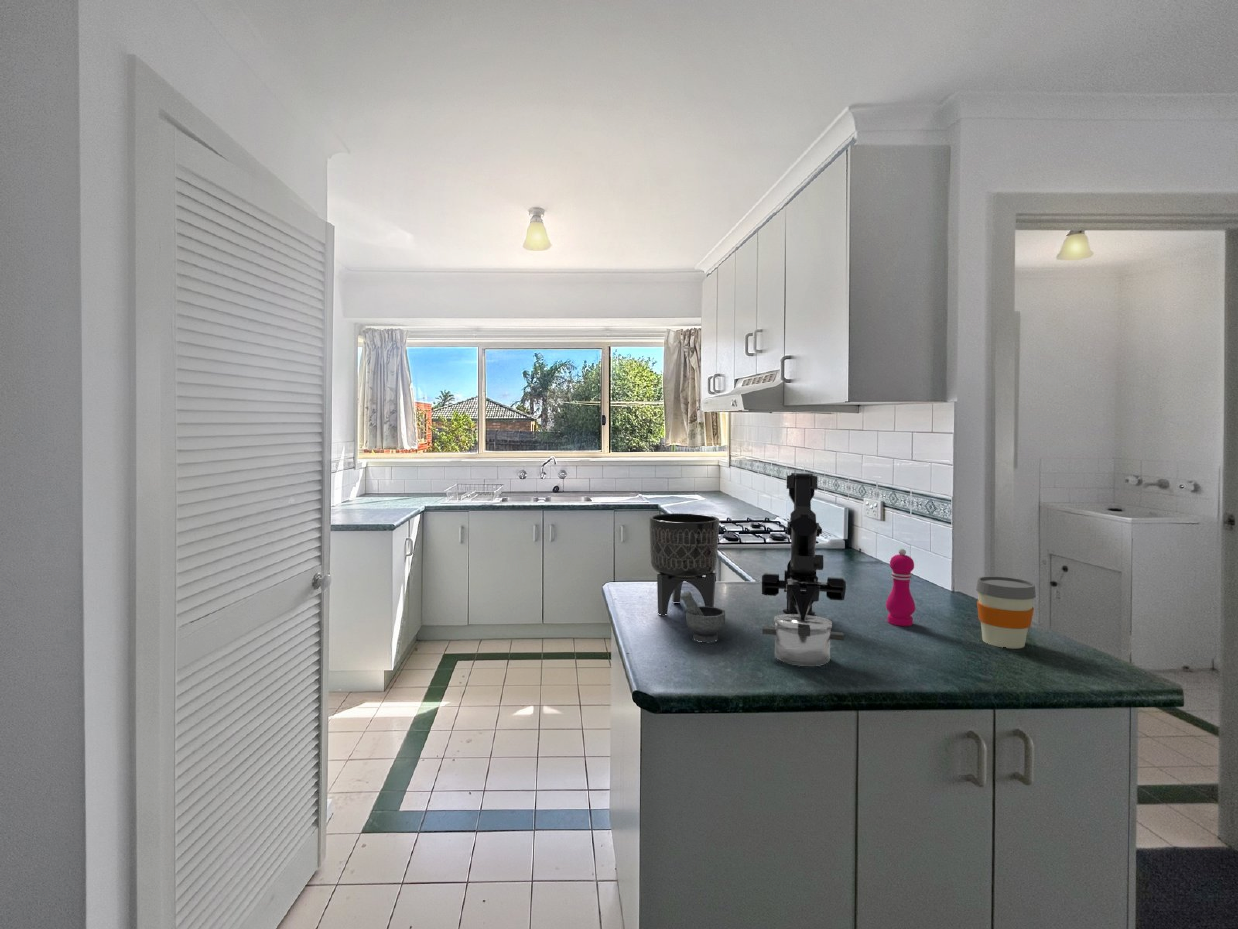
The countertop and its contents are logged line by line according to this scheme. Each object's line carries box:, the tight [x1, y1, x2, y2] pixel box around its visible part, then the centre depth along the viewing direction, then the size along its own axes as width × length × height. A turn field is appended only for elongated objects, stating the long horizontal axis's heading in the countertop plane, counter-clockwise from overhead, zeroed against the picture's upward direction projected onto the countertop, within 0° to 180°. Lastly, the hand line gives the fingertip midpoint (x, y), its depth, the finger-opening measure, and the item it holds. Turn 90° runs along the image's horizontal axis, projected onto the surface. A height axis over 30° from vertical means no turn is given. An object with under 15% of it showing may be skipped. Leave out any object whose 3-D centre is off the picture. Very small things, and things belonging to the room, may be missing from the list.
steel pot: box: [761, 623, 845, 666], centre depth 150 cm, size 12×18×7 cm
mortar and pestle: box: [680, 591, 726, 643], centre depth 162 cm, size 11×9×12 cm
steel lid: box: [773, 613, 833, 636], centre depth 148 cm, size 18×13×1 cm
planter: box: [648, 512, 720, 615], centre depth 187 cm, size 20×20×26 cm
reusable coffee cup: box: [975, 575, 1037, 649], centre depth 162 cm, size 13×13×15 cm
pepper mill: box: [885, 548, 916, 627], centre depth 178 cm, size 7×7×20 cm
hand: (802, 618), depth 150 cm, fingers closed, pressing on steel lid
